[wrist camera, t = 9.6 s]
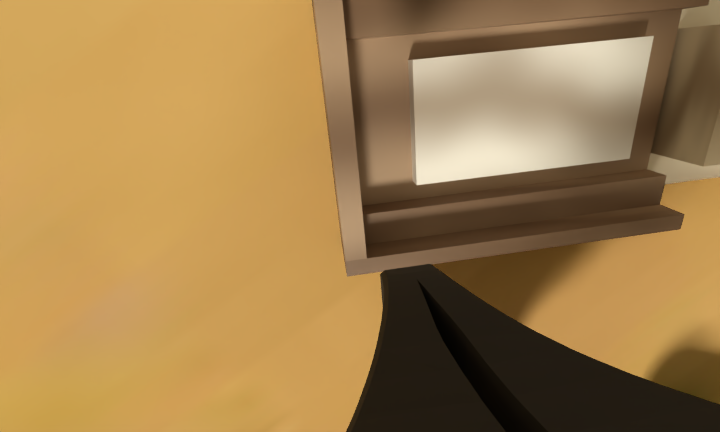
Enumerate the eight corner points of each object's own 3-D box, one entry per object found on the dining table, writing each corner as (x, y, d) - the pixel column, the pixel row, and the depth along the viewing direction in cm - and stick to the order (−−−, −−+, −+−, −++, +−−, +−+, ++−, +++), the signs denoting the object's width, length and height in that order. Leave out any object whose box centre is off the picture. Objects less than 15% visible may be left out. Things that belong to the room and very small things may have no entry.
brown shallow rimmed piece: (629, 206, 21) (680, 229, 18) (342, 245, 20) (347, 276, 17) (683, -50, 16) (764, -75, 14) (309, -20, 15) (308, -40, 12)
